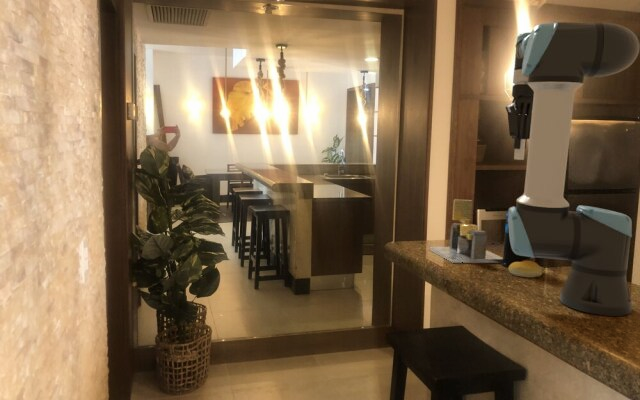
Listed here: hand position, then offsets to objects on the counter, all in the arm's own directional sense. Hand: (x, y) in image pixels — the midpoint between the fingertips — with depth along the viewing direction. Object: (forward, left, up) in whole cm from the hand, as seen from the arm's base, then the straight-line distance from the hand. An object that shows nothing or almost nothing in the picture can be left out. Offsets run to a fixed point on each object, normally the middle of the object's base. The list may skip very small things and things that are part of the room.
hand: (518, 159), depth 171 cm
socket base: (+3, +14, -32) cm, 35 cm away
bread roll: (-19, +6, -33) cm, 38 cm away
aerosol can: (-10, +4, -33) cm, 34 cm away
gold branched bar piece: (+6, +13, -26) cm, 30 cm away
